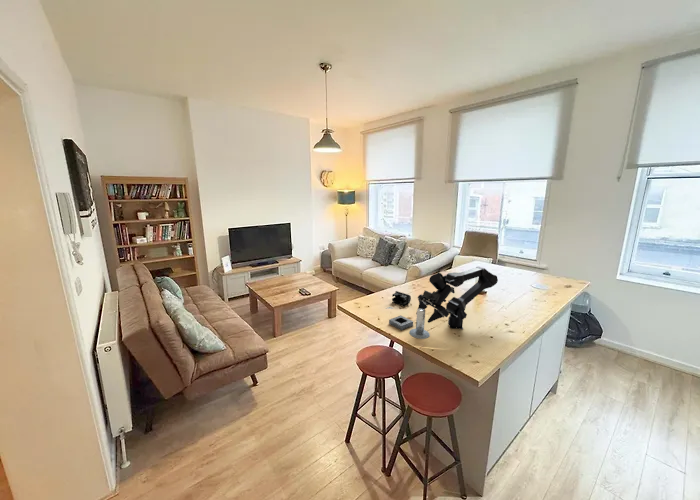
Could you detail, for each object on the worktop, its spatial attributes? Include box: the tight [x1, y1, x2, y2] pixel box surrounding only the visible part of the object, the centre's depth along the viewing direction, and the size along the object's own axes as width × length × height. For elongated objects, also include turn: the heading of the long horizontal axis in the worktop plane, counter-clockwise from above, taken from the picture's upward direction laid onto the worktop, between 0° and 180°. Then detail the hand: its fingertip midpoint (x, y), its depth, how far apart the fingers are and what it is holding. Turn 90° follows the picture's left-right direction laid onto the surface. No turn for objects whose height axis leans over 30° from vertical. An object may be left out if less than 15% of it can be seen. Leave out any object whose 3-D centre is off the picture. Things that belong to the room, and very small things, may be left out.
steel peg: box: [415, 308, 426, 335], centre depth 142 cm, size 4×4×12 cm
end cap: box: [391, 290, 412, 307], centre depth 182 cm, size 10×7×7 cm
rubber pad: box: [409, 328, 431, 340], centre depth 144 cm, size 10×10×1 cm
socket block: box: [388, 315, 414, 331], centre depth 152 cm, size 9×9×3 cm
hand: (422, 318), depth 142 cm, fingers open, 9 cm apart
